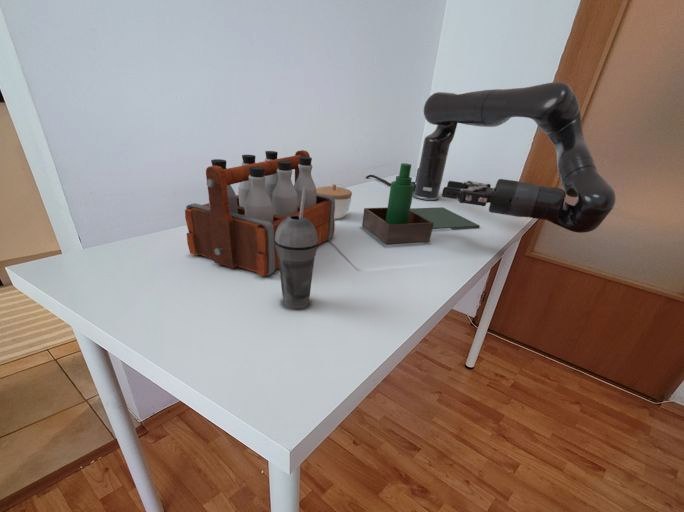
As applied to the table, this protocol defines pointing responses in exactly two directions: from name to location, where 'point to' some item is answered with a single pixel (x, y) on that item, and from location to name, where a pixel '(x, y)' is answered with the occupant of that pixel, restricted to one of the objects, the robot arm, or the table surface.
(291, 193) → the milk bottle holder
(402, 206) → the bottle
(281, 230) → the beverage cup
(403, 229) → the open wooden box
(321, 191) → the trinket box
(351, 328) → the table surface
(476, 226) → the mat
